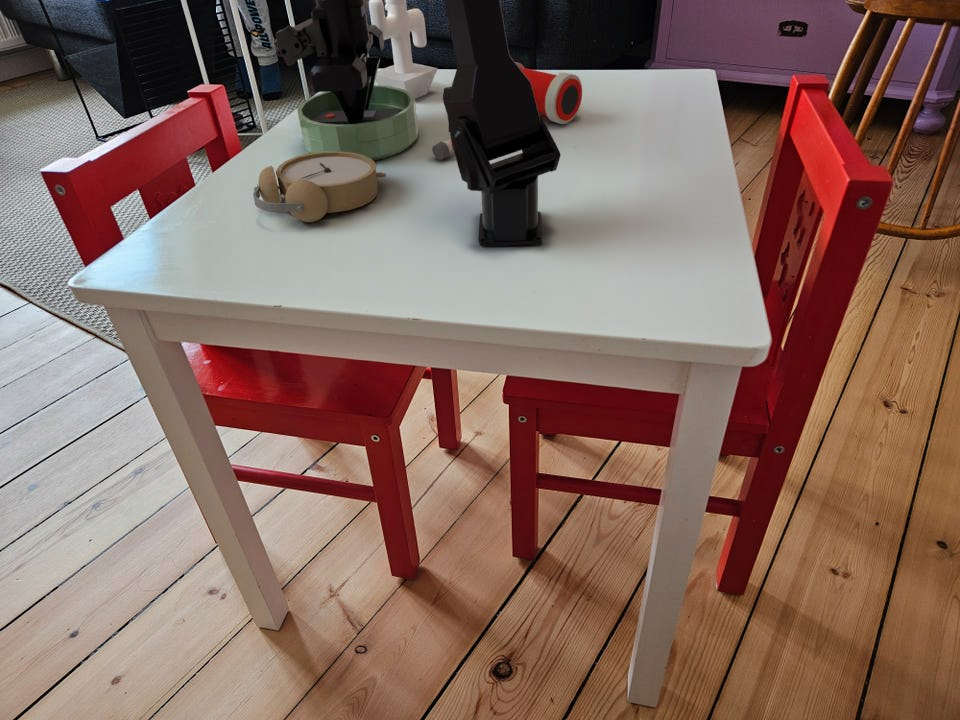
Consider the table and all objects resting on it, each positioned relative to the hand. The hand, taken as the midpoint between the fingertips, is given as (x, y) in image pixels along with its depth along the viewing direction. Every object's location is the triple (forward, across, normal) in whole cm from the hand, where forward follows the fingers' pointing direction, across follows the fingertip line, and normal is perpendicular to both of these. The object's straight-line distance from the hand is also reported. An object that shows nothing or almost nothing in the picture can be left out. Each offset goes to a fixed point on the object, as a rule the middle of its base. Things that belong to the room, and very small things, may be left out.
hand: (359, 124), depth 93 cm
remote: (+1, 0, 0) cm, 1 cm away
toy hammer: (+3, -3, +20) cm, 20 cm away
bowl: (+2, 0, 0) cm, 2 cm away
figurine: (+2, -18, +4) cm, 19 cm away
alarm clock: (+3, +18, -2) cm, 18 cm away
